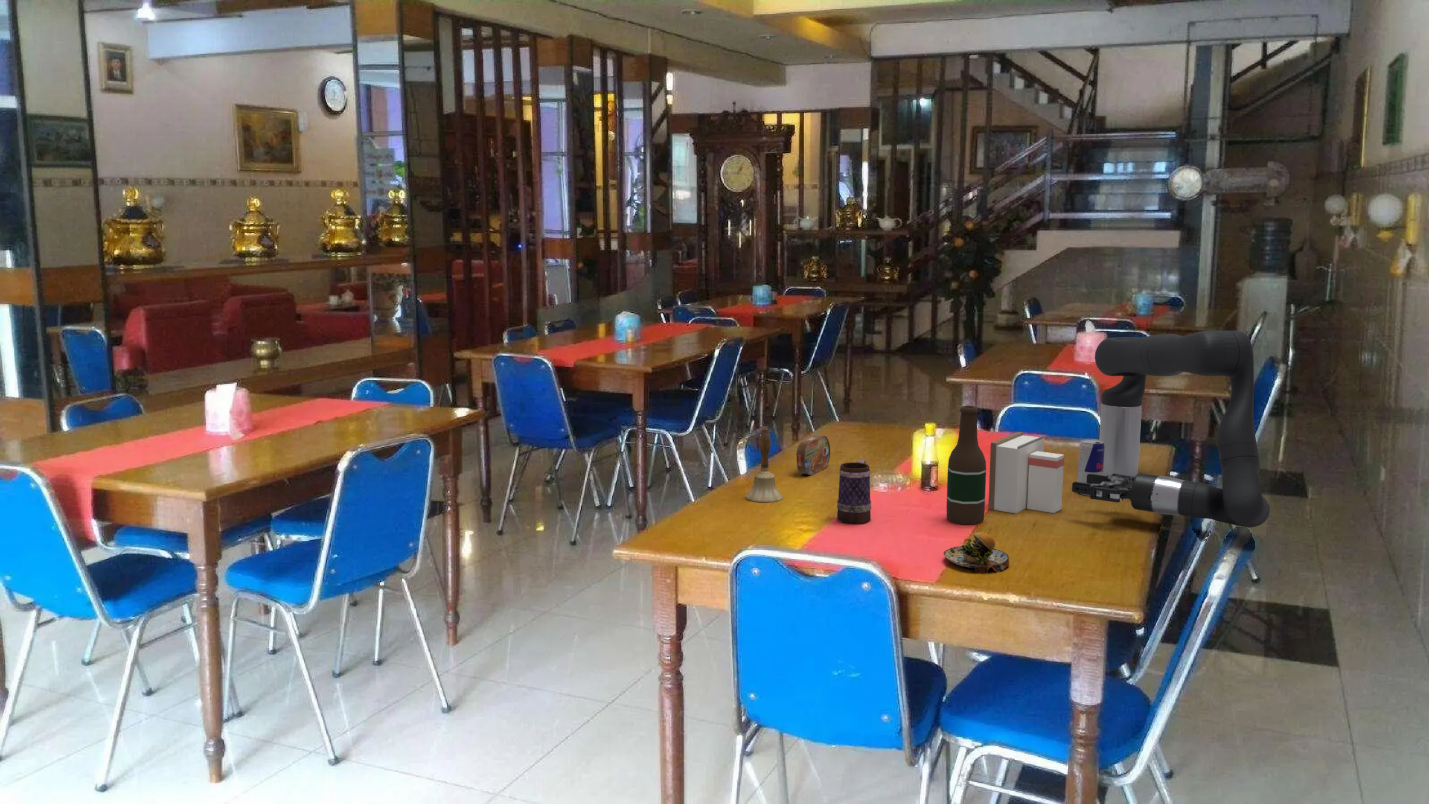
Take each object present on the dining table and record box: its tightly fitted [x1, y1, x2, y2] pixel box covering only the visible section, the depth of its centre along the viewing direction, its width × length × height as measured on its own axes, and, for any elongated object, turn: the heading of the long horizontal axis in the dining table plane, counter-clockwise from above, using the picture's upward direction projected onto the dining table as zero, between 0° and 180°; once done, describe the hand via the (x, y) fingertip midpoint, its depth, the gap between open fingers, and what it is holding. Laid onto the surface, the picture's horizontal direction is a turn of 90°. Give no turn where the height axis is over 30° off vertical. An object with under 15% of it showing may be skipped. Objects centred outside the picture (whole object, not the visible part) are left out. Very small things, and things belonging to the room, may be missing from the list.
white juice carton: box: [1026, 451, 1065, 514], centre depth 243 cm, size 4×6×12 cm
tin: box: [795, 435, 831, 476], centre depth 279 cm, size 15×3×8 cm, turn 150°
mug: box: [836, 457, 872, 525], centre depth 237 cm, size 10×7×12 cm
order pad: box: [987, 431, 1045, 514], centre depth 247 cm, size 14×6×15 cm, turn 142°
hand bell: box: [745, 427, 784, 503], centre depth 253 cm, size 8×8×16 cm
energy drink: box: [1077, 438, 1105, 497], centre depth 256 cm, size 5×5×12 cm
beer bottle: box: [946, 405, 987, 526], centre depth 234 cm, size 8×8×24 cm
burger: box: [943, 528, 1010, 574], centre depth 207 cm, size 12×12×8 cm
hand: (1080, 482), depth 238 cm, fingers open, 8 cm apart
